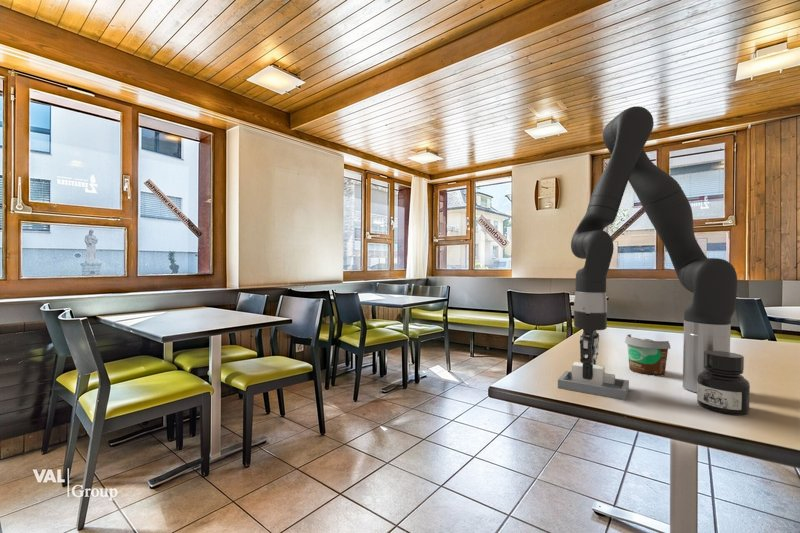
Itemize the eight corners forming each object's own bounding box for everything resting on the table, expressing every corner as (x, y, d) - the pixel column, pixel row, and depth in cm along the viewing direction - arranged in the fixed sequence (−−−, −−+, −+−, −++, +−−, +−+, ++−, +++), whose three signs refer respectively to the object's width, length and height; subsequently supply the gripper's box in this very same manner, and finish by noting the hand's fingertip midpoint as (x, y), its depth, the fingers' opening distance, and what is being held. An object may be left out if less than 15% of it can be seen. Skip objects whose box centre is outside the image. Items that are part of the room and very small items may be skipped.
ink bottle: (686, 403, 89) (687, 350, 88) (709, 398, 92) (710, 347, 92) (737, 419, 80) (738, 361, 80) (760, 413, 83) (761, 357, 83)
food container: (615, 368, 118) (615, 335, 118) (628, 366, 121) (628, 333, 121) (656, 379, 107) (657, 343, 107) (670, 376, 110) (670, 341, 110)
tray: (628, 388, 98) (629, 380, 98) (625, 400, 90) (626, 391, 90) (565, 378, 107) (565, 370, 107) (557, 387, 99) (557, 379, 99)
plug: (574, 380, 103) (575, 361, 103) (615, 387, 97) (615, 367, 97) (571, 384, 100) (572, 365, 99) (613, 391, 94) (613, 371, 94)
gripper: (579, 306, 107) (578, 367, 107) (568, 311, 95) (567, 380, 95) (610, 308, 103) (608, 372, 103) (603, 313, 91) (602, 386, 91)
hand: (589, 376), depth 99 cm, fingers open, 4 cm apart
